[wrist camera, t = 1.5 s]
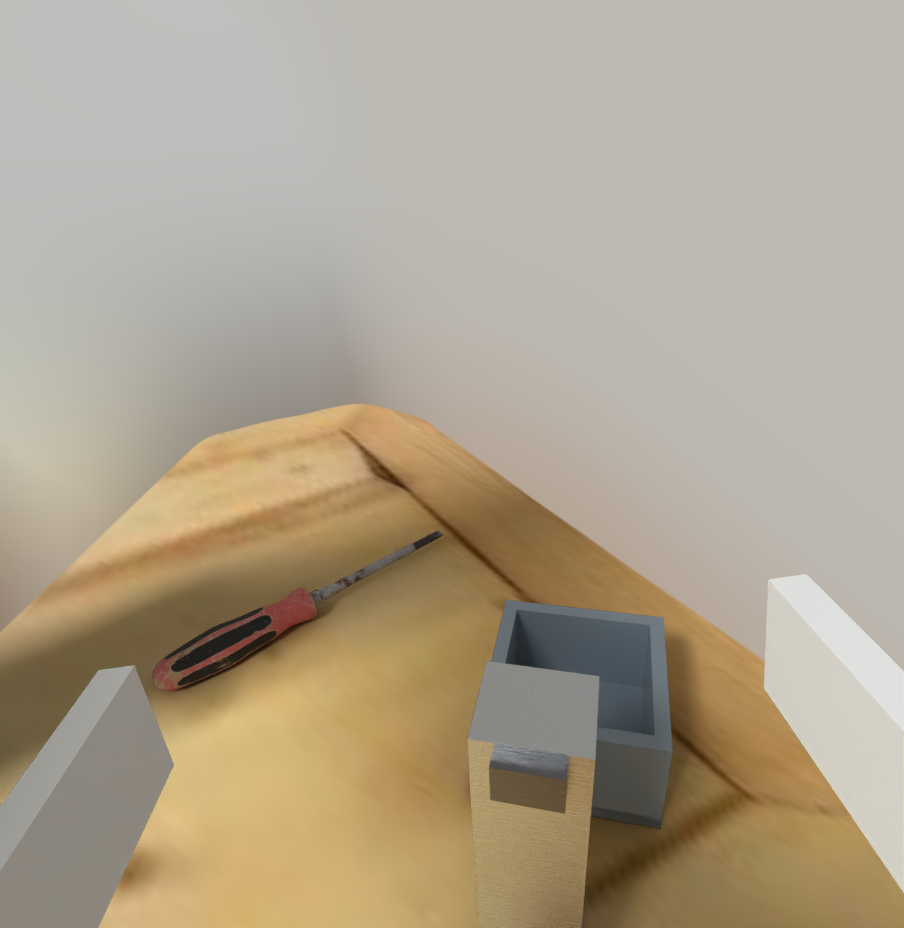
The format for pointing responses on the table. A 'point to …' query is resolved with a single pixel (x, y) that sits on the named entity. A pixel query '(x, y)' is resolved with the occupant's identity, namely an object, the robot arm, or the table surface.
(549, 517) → the table surface
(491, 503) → the table surface
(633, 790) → the caddy
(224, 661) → the screwdriver
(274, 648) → the table surface
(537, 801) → the brushed metal post
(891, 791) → the robot arm
